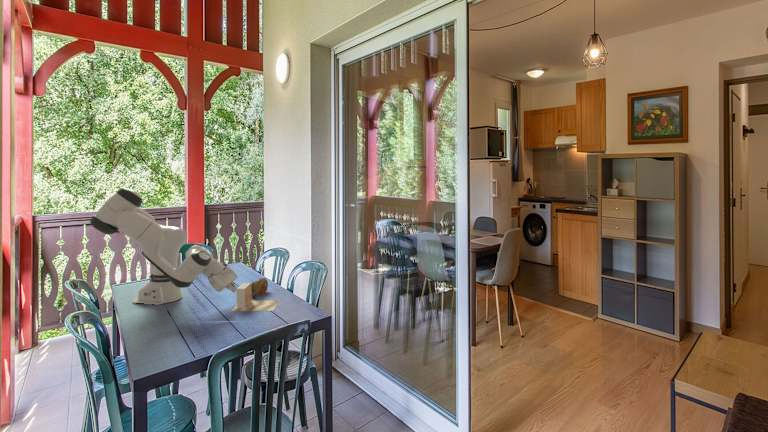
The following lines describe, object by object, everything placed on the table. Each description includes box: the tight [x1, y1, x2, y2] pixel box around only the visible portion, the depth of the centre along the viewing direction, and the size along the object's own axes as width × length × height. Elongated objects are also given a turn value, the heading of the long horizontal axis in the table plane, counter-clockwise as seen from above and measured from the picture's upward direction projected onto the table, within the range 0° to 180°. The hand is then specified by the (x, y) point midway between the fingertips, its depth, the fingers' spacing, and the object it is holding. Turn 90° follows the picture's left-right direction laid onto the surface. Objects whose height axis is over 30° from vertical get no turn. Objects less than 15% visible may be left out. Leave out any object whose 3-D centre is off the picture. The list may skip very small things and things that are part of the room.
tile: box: [235, 282, 253, 309], centre depth 187 cm, size 4×10×10 cm, turn 3°
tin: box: [251, 277, 269, 298], centre depth 205 cm, size 15×3×8 cm, turn 168°
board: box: [230, 299, 281, 312], centre depth 187 cm, size 20×15×1 cm
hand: (236, 290), depth 186 cm, fingers closed
